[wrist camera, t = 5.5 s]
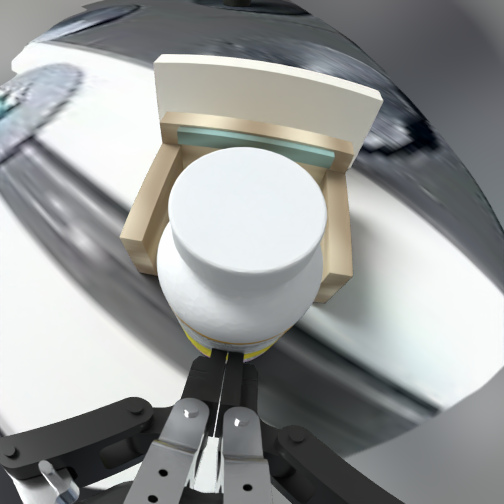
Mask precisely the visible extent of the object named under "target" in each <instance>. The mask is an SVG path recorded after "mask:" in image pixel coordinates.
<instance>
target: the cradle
mask: <svg viewBox="0 0 504 504" xmlns="http://www.w3.org/2000/svg"><path fill="white" fill-rule="evenodd" d="M160 128H161V135H162V145H161V147H160V149H159V151H158V153H157V155H156V157H155V159H154V161H153V163H152V165H151V167H150V169H149V171H148V173H147V175H146V177H145V179H144V181H143V184H142V186H141V188H140V190H139V192H138V195H137V197H136V199H135V201H134V204H133V206H132V208H131V211H130V213H129V215H128V218H127V220H126V223H125V225H124V228H123V230H122V233H121V235H120V239H121V241H122V243H123V245H124V246H125V248H126V250H127V252H128V254H129V256H130V258H131V259H132V261H133V263H134V265H135V267H136V268H137V270H138V272H141V273H146V274H151V275H156V276H157V275H158V272H157V253H158V246H159V243H160V239H161V237H162V234H163V232H164V230H165V228H166V226H167V224H168V223H169V221H170V220H169V213H168V203H169V197H170V193H171V190H172V187H173V186H174V184H175V181H176V180H177V178H178V177H179V175H180V174H181V173H182V172H183V171H184V170H185V169H186V168H187V167H188V166H189V165H190V164H191V163H193V162H194V161H196V160H197V159H199V158H200V157H202V156H204V155H207V154H209V153H212V152H215V151H218V150H222V149H227V148H234V147H251V148H258V149H264V150H267V151H271V152H274V153H277V154H280V155H282V156H284V157H286V158H288V159H290V160H292V161H293V162H295V163H297V164H298V165H299V166H301V167H302V168H303V169H305V170H306V171H307V172H308V173H309V174H310V175H311V176H312V178H313V179H314V180H315V181H316V183H317V184H318V186H319V187H320V190H321V192H322V194H323V196H324V199H325V202H326V207H327V223H326V228H325V233H324V235H323V238H322V240H321V242H320V246H321V250H322V255H323V274H322V280H321V284H320V288H319V290H318V293H317V295H316V297H315V299H314V301H313V302H319V303H326V302H327V301H328V300H329V299H330V298H331V297H332V296H333V295H334V294H335V293H336V292H337V291H338V290H339V289H341V288H342V287H343V286H344V285H345V284H346V283H347V282H348V281H349V280H350V279H351V278H352V277H353V266H352V245H351V229H350V216H349V205H348V195H347V185H346V176H345V173H346V171H347V169H348V167H349V165H350V163H351V161H352V159H353V157H354V150H353V145H352V142H349V141H345V140H342V139H338V138H334V137H330V136H326V135H322V134H318V133H314V132H309V131H305V130H300V129H295V128H291V127H286V126H280V125H275V124H270V123H264V122H258V121H252V120H245V119H238V118H231V117H223V116H215V115H205V114H195V113H183V112H168V111H167V112H166V113H165V115H164V117H163V118H162V120H161V122H160Z"/></svg>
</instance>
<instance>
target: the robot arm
mask: <svg viewBox="0 0 504 504" xmlns="http://www.w3.org/2000/svg"><path fill="white" fill-rule="evenodd" d="M226 357H227V351H224V350H219V349H215V348H212V351H211V355H210V358H208V357H203V356H199V357H198V358H197V359H195V360H194V361H193V363H192V366H191V370H190V372H189V376H188V378H187V381H186V384H185V387H184V391H183V394H182V397H181V399H180V400H179V401H177V402H176V403H175V405H173V406H170V407H165V408H152V406H151V404H150V403H149V402H148V401H146V400H144V399H142V398H139V397H129V398H125V399H123V400H120V401H118V402H115V403H112V404H110V405H107V406H104V407H102V408H99V409H96V410H93V411H90V412H87V413H85V414H82V415H79V416H76V417H73V418H70V419H66V420H63V421H60V422H57V423H54V424H50V425H47V426H44V427H40V428H37V429H33V430H29V431H26V432H22V433H18V434H14V435H10V436H6V437H2V438H1V439H0V464H1V465H2V466H3V467H4V469H5V470H6V472H7V473H8V474H9V476H10V477H11V478H12V479H13V481H14V484H15V486H16V488H17V490H18V493H19V495H20V497H21V499H22V501H23V503H24V504H71V503H73V502H75V501H76V500H77V499H78V497H79V488H82V487H85V486H87V485H90V484H93V483H95V482H98V481H100V480H102V479H105V478H107V477H110V476H112V475H114V474H117V473H119V472H121V471H123V470H125V469H128V468H130V467H132V466H134V465H136V464H138V463H140V462H142V461H143V462H142V465H141V467H140V469H139V471H138V473H137V475H136V477H135V479H134V481H128V482H123V483H120V484H118V485H115V486H113V487H111V488H109V489H107V490H105V491H103V492H101V493H98V494H96V495H94V496H92V497H89V498H87V499H84V500H82V501H80V502H77V503H75V504H273V499H272V491H271V484H272V485H273V486H274V487H275V488H276V489H277V490H278V491H279V492H280V493H281V494H282V495H284V496H285V497H286V498H287V499H288V500H289V501H290V502H291V503H292V504H404V503H403V502H402V501H400V500H399V499H397V498H396V497H394V496H393V495H391V494H390V493H388V492H387V491H385V490H384V489H382V488H381V487H379V486H378V485H377V484H375V483H374V482H372V481H371V480H370V479H368V478H367V477H366V476H364V475H363V474H362V473H360V472H359V471H357V470H356V469H355V468H354V467H352V466H351V465H350V464H348V463H347V462H346V461H345V460H343V459H342V458H341V457H339V456H338V455H337V454H336V453H334V452H333V451H332V450H331V449H329V448H328V447H327V446H326V445H325V444H323V443H322V442H321V441H320V440H319V439H317V438H316V437H315V436H314V435H313V434H312V433H310V432H309V431H308V430H307V429H305V428H303V427H300V426H295V425H291V426H286V427H284V428H282V429H281V430H280V429H277V428H274V427H272V426H269V425H267V424H266V423H264V422H263V421H262V420H261V419H260V418H259V416H258V413H257V395H258V388H257V387H258V372H257V370H256V369H255V367H254V365H249V364H243V361H244V353H240V352H231V351H229V354H228V359H227V365H226V371H225V377H224V383H223V389H222V395H221V401H220V407H219V413H218V419H217V425H216V431H215V437H216V438H219V443H218V449H217V460H216V486H215V493H202V492H199V491H196V490H194V484H195V480H196V477H197V473H198V470H199V467H200V463H201V460H202V457H203V453H204V449H205V447H206V445H207V440H208V436H210V437H213V433H214V428H215V422H216V416H217V410H218V404H219V398H220V392H221V386H222V381H223V375H224V369H225V363H226Z"/></svg>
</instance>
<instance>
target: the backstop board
mask: <svg viewBox="0 0 504 504" xmlns="http://www.w3.org/2000/svg"><path fill="white" fill-rule="evenodd" d="M154 74H155V85H156V94H157V103H158V112H159V120H160V122H161V120H162V118H163V117H164V115H165V113H166V112H167V111H168V112H183V113H195V114H205V115H215V116H223V117H231V118H238V119H245V120H252V121H258V122H264V123H270V124H275V125H280V126H286V127H291V128H295V129H300V130H305V131H309V132H314V133H318V134H322V135H326V136H330V137H334V138H338V139H342V140H345V141H349V142H352V145H353V150H354V157H353V159H352V161H351V163H350V165H349V167H348V169H350V168H351V166H352V164H353V162H354V160H355V158H356V156H357V154H358V152H359V150H360V148H361V146H362V144H363V142H364V140H365V138H366V136H367V134H368V132H369V130H370V128H371V126H372V124H373V122H374V120H375V118H376V115H377V113H378V111H379V109H380V107H381V105H382V103H383V100H382V97H381V95H380V93H379V91H377V90H375V89H372V88H369V87H366V86H363V85H360V84H357V83H353V82H350V81H347V80H343V79H340V78H336V77H333V76H329V75H325V74H321V73H317V72H313V71H309V70H305V69H300V68H295V67H290V66H285V65H280V64H274V63H268V62H262V61H255V60H248V59H239V58H230V57H219V56H205V55H177V54H162V55H161V56H160V57H159V58H158V59H157V60H156V61H155V62H154Z"/></svg>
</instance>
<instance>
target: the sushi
mask: <svg viewBox="0 0 504 504" xmlns="http://www.w3.org/2000/svg"><path fill="white" fill-rule="evenodd" d="M250 2H251V0H224V1H223V4H224V5H228V6H233V7H244V6H250Z"/></svg>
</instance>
